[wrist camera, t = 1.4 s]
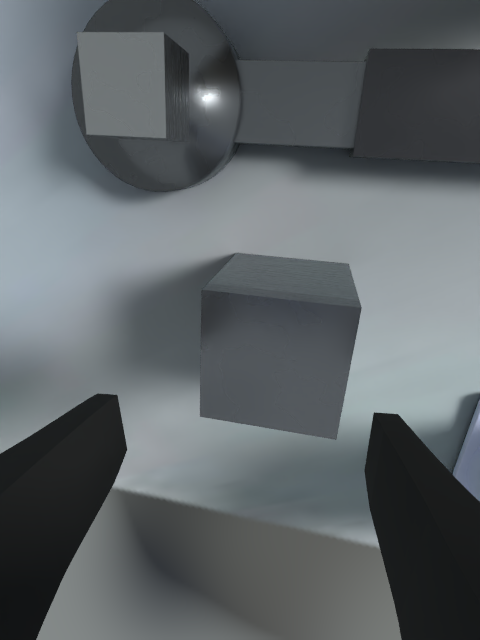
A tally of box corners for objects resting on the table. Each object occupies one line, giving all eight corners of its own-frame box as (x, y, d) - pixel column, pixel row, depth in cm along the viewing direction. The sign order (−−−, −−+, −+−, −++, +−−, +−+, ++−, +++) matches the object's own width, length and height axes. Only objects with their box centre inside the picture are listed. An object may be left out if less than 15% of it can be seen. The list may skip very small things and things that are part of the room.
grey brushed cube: (348, 263, 18) (361, 308, 12) (331, 364, 20) (336, 439, 14) (236, 253, 19) (201, 289, 13) (231, 350, 21) (199, 416, 15)
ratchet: (615, 3, 13) (753, -72, 9) (540, 214, 16) (619, 233, 11) (90, 8, 16) (11, -46, 12) (105, 183, 19) (44, 189, 15)
